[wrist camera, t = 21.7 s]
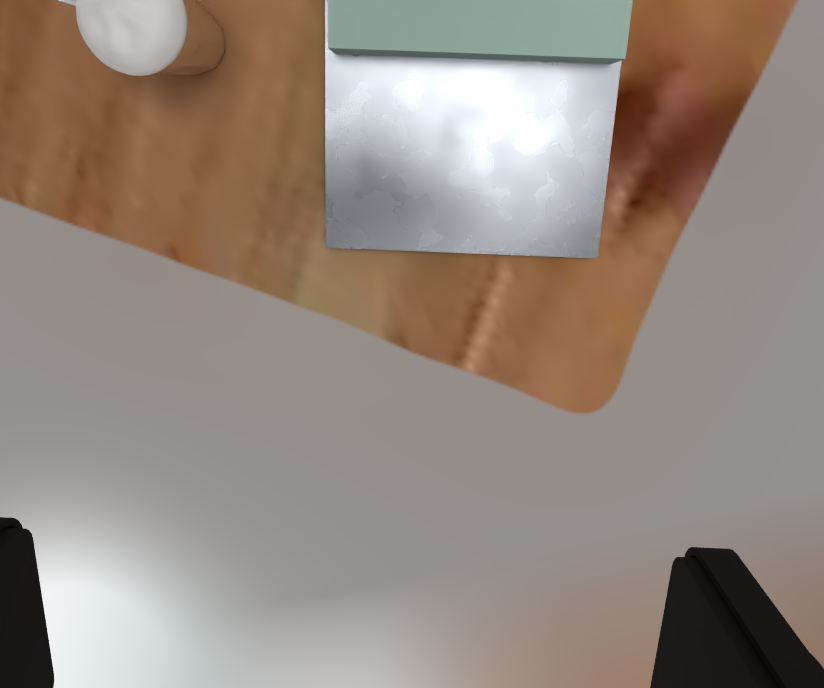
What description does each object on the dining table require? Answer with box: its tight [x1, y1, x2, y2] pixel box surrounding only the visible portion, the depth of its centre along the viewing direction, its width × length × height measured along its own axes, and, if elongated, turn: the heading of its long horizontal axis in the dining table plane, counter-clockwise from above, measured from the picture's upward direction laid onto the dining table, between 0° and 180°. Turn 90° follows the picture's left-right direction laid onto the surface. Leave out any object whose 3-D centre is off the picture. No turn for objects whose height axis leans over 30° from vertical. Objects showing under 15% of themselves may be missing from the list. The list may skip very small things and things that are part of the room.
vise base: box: [325, 0, 621, 258], centre depth 33 cm, size 15×21×4 cm
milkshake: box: [57, 0, 225, 76], centre depth 31 cm, size 5×5×10 cm
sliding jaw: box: [328, 0, 633, 64], centre depth 32 cm, size 14×5×2 cm, turn 88°
